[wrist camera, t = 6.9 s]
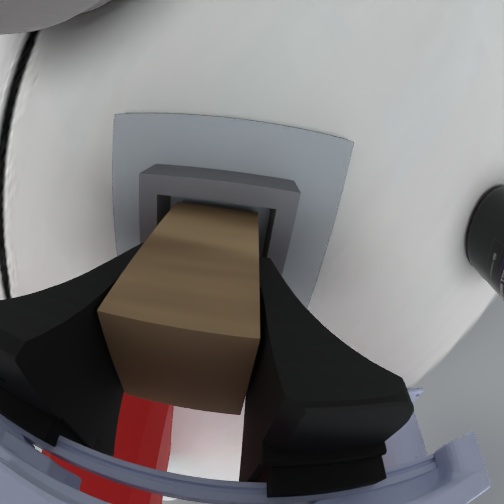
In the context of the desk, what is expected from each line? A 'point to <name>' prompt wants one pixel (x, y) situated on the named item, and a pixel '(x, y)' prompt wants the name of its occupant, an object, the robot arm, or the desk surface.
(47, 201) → the desk surface
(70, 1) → the teacup
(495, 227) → the supplement bottle
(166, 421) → the book
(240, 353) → the oak peg
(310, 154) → the stand
